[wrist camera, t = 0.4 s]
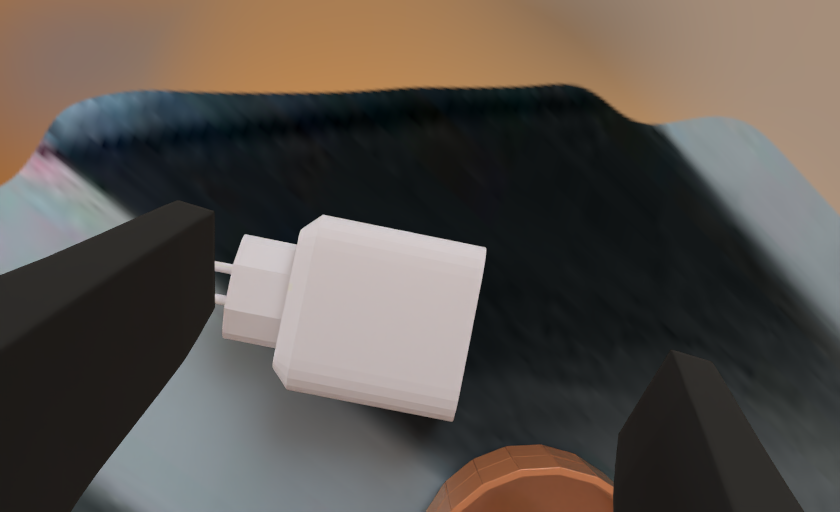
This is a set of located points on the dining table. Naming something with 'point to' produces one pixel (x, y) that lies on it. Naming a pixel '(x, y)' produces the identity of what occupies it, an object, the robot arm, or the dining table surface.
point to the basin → (526, 483)
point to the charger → (359, 312)
